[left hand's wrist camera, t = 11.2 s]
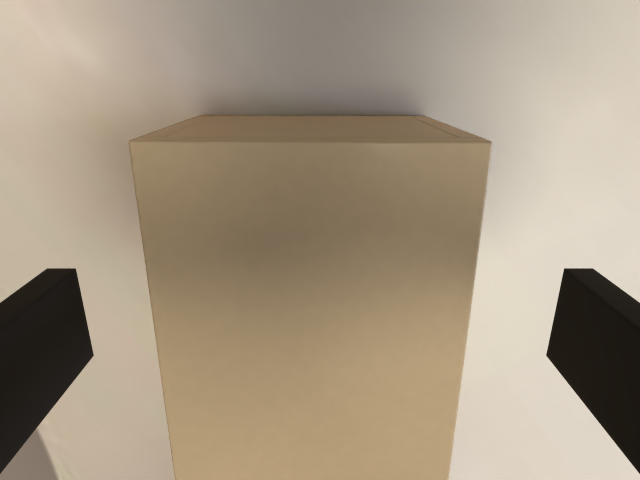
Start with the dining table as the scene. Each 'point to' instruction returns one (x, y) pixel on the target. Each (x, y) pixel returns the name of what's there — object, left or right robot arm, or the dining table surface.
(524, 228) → the dining table surface
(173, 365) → the tan cardboard box
